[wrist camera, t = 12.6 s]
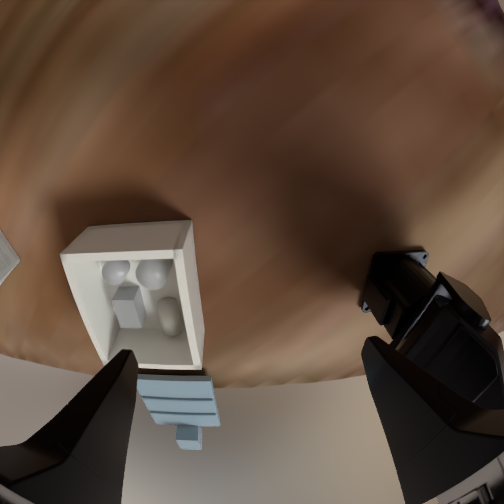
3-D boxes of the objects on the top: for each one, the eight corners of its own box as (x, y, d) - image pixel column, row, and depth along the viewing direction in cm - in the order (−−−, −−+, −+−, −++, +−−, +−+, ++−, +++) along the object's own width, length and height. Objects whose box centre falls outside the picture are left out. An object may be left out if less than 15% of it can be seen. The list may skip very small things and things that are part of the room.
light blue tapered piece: (134, 367, 28) (127, 395, 25) (211, 368, 29) (210, 399, 25) (163, 424, 35) (161, 447, 31) (222, 426, 36) (222, 449, 32)
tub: (88, 226, 20) (59, 254, 16) (192, 219, 21) (182, 249, 16) (117, 328, 25) (103, 364, 21) (204, 329, 26) (201, 369, 21)
